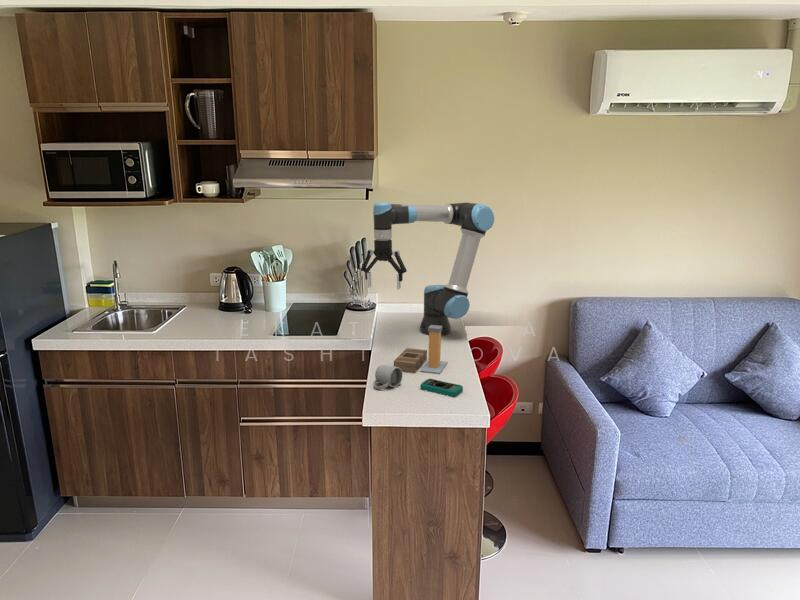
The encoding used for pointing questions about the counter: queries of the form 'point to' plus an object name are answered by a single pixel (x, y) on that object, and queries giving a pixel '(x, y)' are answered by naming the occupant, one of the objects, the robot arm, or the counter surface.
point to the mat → (434, 370)
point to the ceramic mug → (388, 376)
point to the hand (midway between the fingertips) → (383, 287)
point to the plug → (434, 346)
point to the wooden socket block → (411, 360)
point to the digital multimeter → (441, 387)
